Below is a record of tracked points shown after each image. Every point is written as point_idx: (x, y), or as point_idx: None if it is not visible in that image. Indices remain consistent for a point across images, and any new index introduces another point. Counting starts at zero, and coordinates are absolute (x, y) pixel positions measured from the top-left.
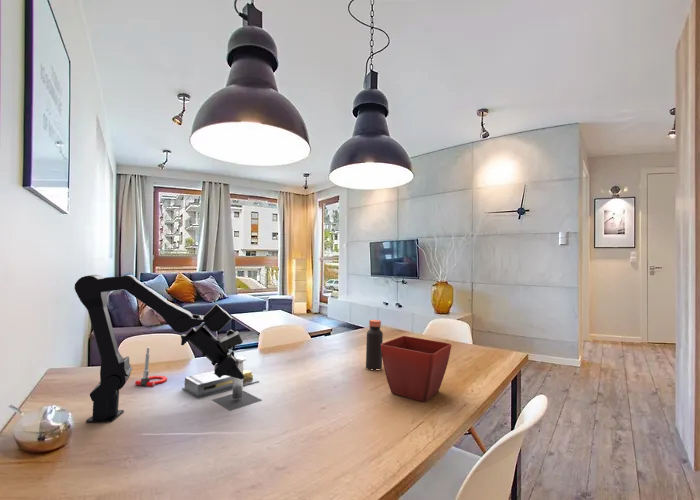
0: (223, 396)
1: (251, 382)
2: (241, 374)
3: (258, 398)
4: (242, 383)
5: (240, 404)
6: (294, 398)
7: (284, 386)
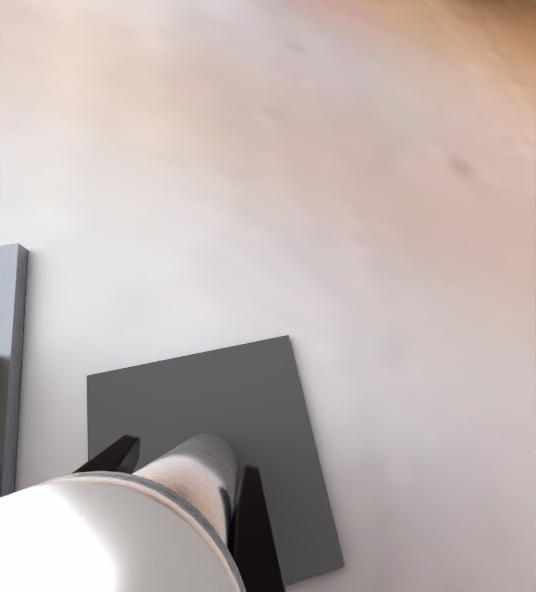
0: None
1: (7, 288)
2: (267, 525)
3: (255, 343)
4: (221, 457)
5: (283, 468)
6: (327, 204)
7: (167, 174)
